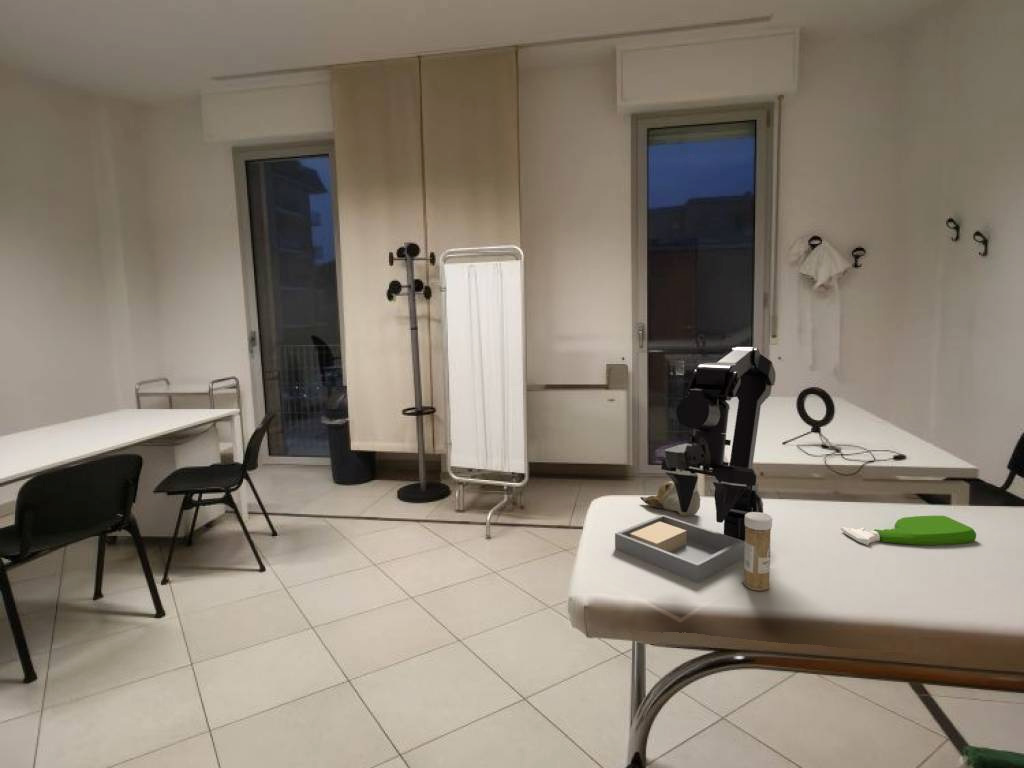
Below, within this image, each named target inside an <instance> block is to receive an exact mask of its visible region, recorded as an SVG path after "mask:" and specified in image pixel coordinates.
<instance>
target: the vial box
mask: <svg viewBox="0 0 1024 768" xmlns="http://www.w3.org/2000/svg"><path fill="white" fill-rule="evenodd" d="M630 537H631V538H633V539H636V540H639V541H641V542H644V543H646V544H649V545H652V546H654V547H657V548H659V549H662V550H665V551H667V552H670V551H672V550H675V549H677V548H679V547H681V546H683V545H685V544H686V543H687V531H686V530H684V529H681V528H678V527H675V526H672V525H669V524H666V523H663V522H657V523H655V524H652V525H650V526H647V527H645V528H642V529H640V530H637V531H635V532H633V533H630Z"/></svg>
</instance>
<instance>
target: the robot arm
mask: <svg viewBox="0 0 1024 768" xmlns="http://www.w3.org/2000/svg"><path fill="white" fill-rule="evenodd" d="M776 377H777V374H776V370H775V366H774V364H773V362H772V360H770V359H768V358H767V357H766V356H764V355H762V354H761V352H760V350H759V348H756V347H755V346H754V347H753V346H736V347H732V348H731V351H730V352H729V353H727V355H725V356H724V357H722V358H721V359H720V360H718V361H717V362H705V363H701V364H699V365H698V366H697V367H696V369H694V371H693V373H692V376H691V378H690V380H689V382H688V385H687V387H686V389H685V392H684V398H683V399H681V400H680V401H679V403H678V405H677V407H676V412H675V413H676V418H677V421H678V422H679V423H680V425H682V426H683V427H685V428H688V429H693V434H691V435H690V434H688V435H687V437H686V442H685V443H682V444H677V445H674V446H672V447H669V448H665V449H664V451H663V452H664V458H663V459H662V461H661V468H660V469H661V470H662V471H666V472H664V473H665V476H668V477H669V478H670V479H671V480H672V481H674V484H675V487H676V490H677V495H678V499H679V504H680V508H681V511H682V512H687V510H688V508H689V505H690V502H691V499H692V495H693V492H694V491H695V489H696V486H697V482H698V478H699V477H698V476H697V475H693V474H701V475H706V476H711V477H715V479H716V482H715V481H713V482H712V484H713V486H714V495H713V496H714V504H715V513H716V514H715V515H716V516H715V519H716V523H723V534H724V535H727V536H730V537H733V538H736V539H739V540H742V541H745V515H746V514H747V513H750V512H760V513H764V503H763V500H762V497H761V494H760V491H759V483H758V481H757V474H756V472H755V470H754V468H753V465H754V460H755V459H754V457H755V453H756V444H757V436H758V430H759V421H760V415H761V406H762V405H763V404H764V403H765V402H766V400H767V399H768V398H769V397H770V396H771V392H772V387H773V386H775V382H776ZM735 396H736V398H737V399H738V403H737V410H736V417H735V423H734V424H735V425H734V432H733V438H732V439H733V440H731V439H727V431H728V421H729V420H728V419H729V412H730V411H729V410H730V409H731V406H730V404H729V403H728V402H727V401H729V402H730V401H731V400H732V399H733V398H735ZM731 442H732V445H731ZM726 446H730V447H731V453H730V460H729V462H726V461H725V460H724V459H725V451H726V450H725V449H726ZM701 467H702V468H701ZM717 481H718V482H717Z"/></svg>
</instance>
